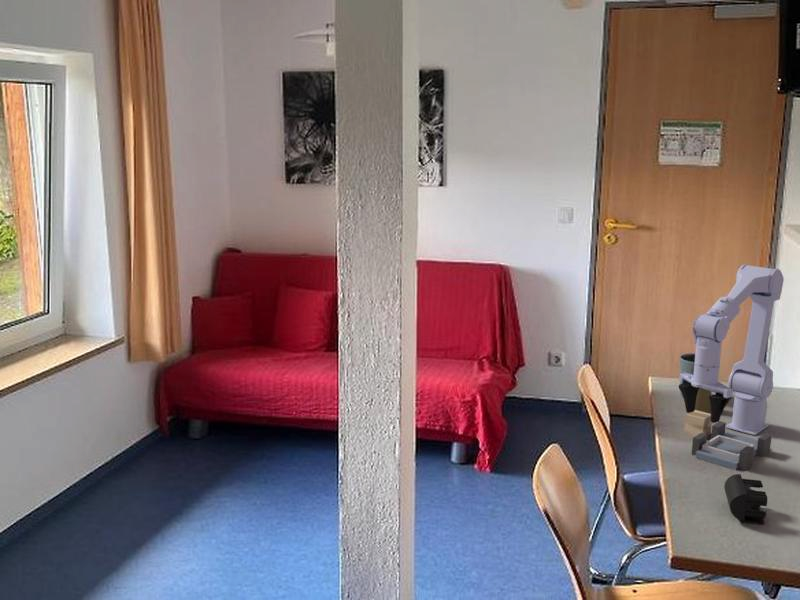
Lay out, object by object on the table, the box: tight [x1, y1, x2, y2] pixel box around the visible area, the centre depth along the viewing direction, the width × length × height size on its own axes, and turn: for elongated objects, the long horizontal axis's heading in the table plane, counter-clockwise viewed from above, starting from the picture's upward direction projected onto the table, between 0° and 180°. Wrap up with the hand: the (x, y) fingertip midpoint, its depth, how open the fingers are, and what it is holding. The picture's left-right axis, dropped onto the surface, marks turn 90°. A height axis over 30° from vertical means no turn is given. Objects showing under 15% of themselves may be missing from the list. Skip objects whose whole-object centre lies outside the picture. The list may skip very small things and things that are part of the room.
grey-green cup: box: [679, 352, 713, 399], centre depth 246 cm, size 10×10×12 cm
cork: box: [695, 387, 712, 414], centre depth 236 cm, size 6×6×11 cm
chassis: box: [691, 420, 772, 471], centre depth 207 cm, size 18×13×4 cm
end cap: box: [724, 473, 768, 526], centre depth 176 cm, size 10×7×7 cm
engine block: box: [683, 410, 713, 438], centre depth 219 cm, size 5×5×6 cm
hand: (702, 416), depth 205 cm, fingers open, 7 cm apart
